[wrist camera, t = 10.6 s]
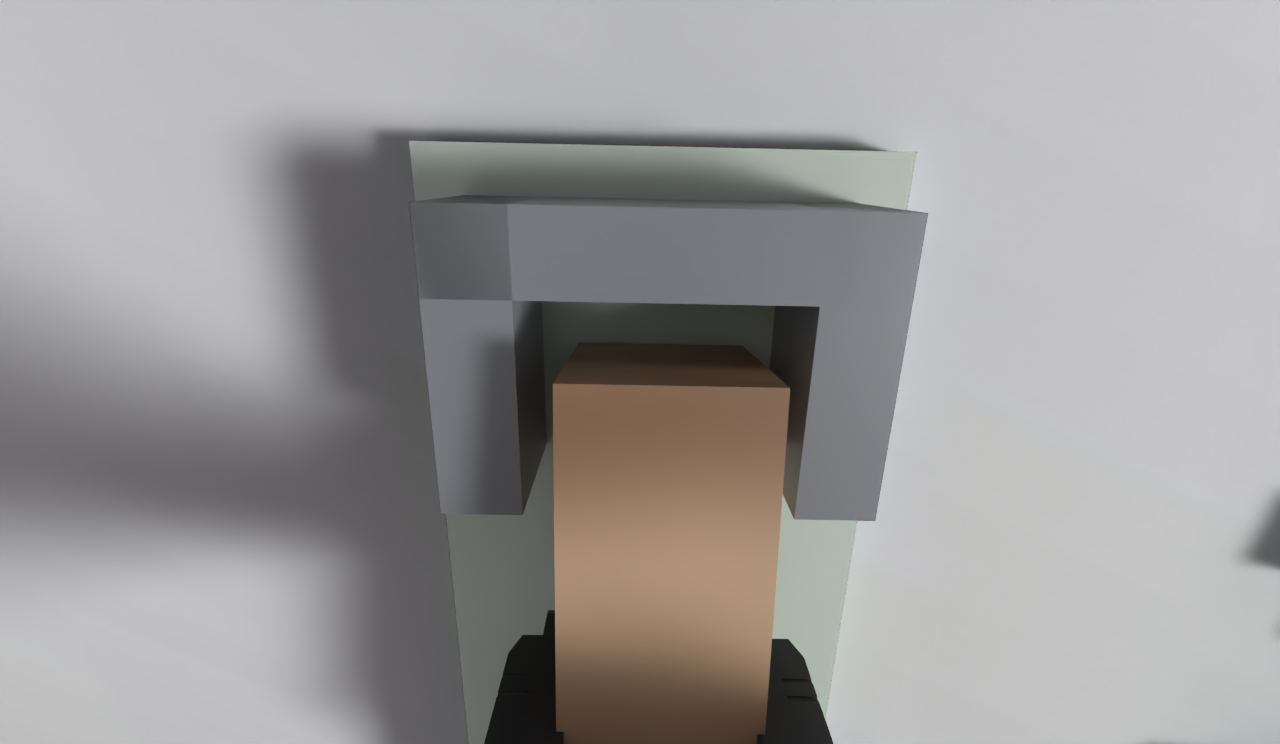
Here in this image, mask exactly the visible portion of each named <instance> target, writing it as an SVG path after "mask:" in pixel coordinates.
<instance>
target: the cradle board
mask: <svg viewBox="0 0 1280 744" xmlns="http://www.w3.org/2000/svg"><path fill="white" fill-rule="evenodd" d="M409 147H410V157H411V167H412V178H413V188H414V198H415V201H423V200H430V199H438V198H445V197H453V196H460V195H486V196H533V197H580V198H627V199H674V200H722V201H769V202H816V203H860V204H867V205H874V206H881V207H888V208H895V209H902V210H907V208H908V202H909V196H910V190H911V184H912V177H913V171H914V165H915V159H916V153H917V152H897V151H852V150H806V149H761V148H716V147H671V146H625V145H580V144H535V143H489V142H444V141H409ZM774 315H775V306H764V305H713V304H661V303H610V302H559V301H542V319H543V349H544V378H545V408H546V438H547V444H546V447H545V450H544V453H543V456H542V459H541V462H540V465H539V468H538V471H537V474H536V477H535V480H534V483H533V486H532V489H531V492H530V495H529V498H528V501H527V504H526V507H525V510H524V513H523V515H477V514H446V522H447V532H448V542H449V553H450V563H451V573H452V583H453V593H454V603H455V613H456V623H457V634H458V644H459V654H460V664H461V674H462V684H463V694H464V705H465V715H466V725H467V735H468V744H484V742H485V738H486V734H487V731H488V727H489V723H490V719H491V716H492V712H493V708H494V704H495V701H496V697H497V696H498V690H499V686H500V682H501V678H502V677H503V671H504V667H505V664H506V660H507V656H508V653H509V651H510V650H511V649H512V648H513V646H514V645H515V644H516V643H517V641H518V640H519V639H520V638H521V636H522V635H543V632H544V627H545V622H546V617H547V613H548V610H555V568H554V468H553V382H554V381H555V379H556V378H557V376H558V374H559V373H560V371H561V370H562V368H563V367H564V365H565V364H566V362H567V360H568V359H569V357H570V356H571V354H572V353H573V351H574V349H575V348H576V346H577V345H578V343H631V344H683V345H736V346H744V347H745V348H746V349H747V350H748V351H749V352H750V353H751V354H753V355H754V356H755V357H756V358H757V359H758V360H759V361H761V362H762V363H763V364H764V365H765V366H766V367H767V368H768V369H769V367H770V357H771V346H772V336H773V325H774ZM856 525H857V521H853V520H794V518H793V516H792V514H791V511H790V509H789V507H788V505H787V502H786V500H785V498H784V496H782V509H781V523H780V537H779V551H778V564H777V578H776V592H775V605H774V619H773V633H772V639H789V640H790V641H791V643H792V644H793V645H794V646H795V647H796V649H797V650H798V651H799V652H800V653H801V655H802V656H803V657H804V659H805V662H806V665H807V668H808V671H809V674H810V677H811V682H812V683H813V685H814V688H815V691H816V694H817V700H818V701H819V703H820V706H821V709H822V712H823V715H824V718H826V712H827V705H828V699H829V693H830V687H831V681H832V674H833V668H834V662H835V656H836V650H837V643H838V637H839V631H840V625H841V618H842V612H843V606H844V600H845V594H846V587H847V581H848V575H849V569H850V563H851V556H852V550H853V544H854V538H855V531H856Z"/></svg>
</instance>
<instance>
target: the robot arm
mask: <svg viewBox="0 0 1280 744" xmlns="http://www.w3.org/2000/svg"><path fill="white" fill-rule="evenodd" d="M484 744H564V732H556V668H555V610H548V613H547V617H546V622H545V627H544V632H543V635H522V636H521V638H520V639H519V640H518V641H517V643H516V644H515V645H514V646H513V648H512V649H511V650H510V651H509V653H508V656H507V660H506V664H505V667H504V671H503V677H502V678H501V682H500V686H499V690H498V696H497V697H496V701H495V704H494V708H493V712H492V716H491V719H490V723H489V727H488V731H487V734H486V738H485V742H484ZM757 744H833V741H832V738H831V735H830V732H829V730H828V727H827V724H826V721H825V718H824V715H823V712H822V709H821V706H820V703H819V701H818V700H817V694H816V691H815V688H814V685H813V683H812V682H811V677H810V674H809V671H808V668H807V665H806V662H805V659H804V657H803V656H802V655H801V653H800V652H799V651H798V650H797V649H796V647H795V646H794V645H793V644H792V643H791V641H790V640H789V639H772V647H771V660H770V674H769V688H768V702H767V715H766V729H765V734H757Z"/></svg>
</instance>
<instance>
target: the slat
mask: <svg viewBox="0 0 1280 744" xmlns="http://www.w3.org/2000/svg"><path fill="white" fill-rule="evenodd" d="M789 400H790V387H789V386H788V385H786V384H785V383H784V382H783V381H782V380H781V379H780V378H779V377H777V376H776V375H775V374H774V373H773V372H772V371H771V370H770V369H768V368H767V367H766V366H765V365H764V364H763V363H762V362H761V361H759V360H758V359H757V358H756V357H755V356H754V355H753V354H751V353H750V352H749V351H748V350H747V349H746V348H745V347H744V346H736V345H683V344H631V343H578V345H577V346H576V348H575V349H574V351H573V353H572V354H571V356H570V357H569V359H568V360H567V362H566V364H565V365H564V367H563V368H562V370H561V371H560V373H559V374H558V376H557V378H556V379H555V381H554V382H553V468H554V568H555V668H556V732H564V744H757V734H765V729H766V715H767V702H768V688H769V674H770V660H771V647H772V633H773V619H774V605H775V592H776V578H777V564H778V551H779V537H780V523H781V509H782V496H783V482H784V468H785V455H786V441H787V427H788V413H789Z"/></svg>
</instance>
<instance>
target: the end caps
mask: <svg viewBox="0 0 1280 744" xmlns="http://www.w3.org/2000/svg"><path fill="white" fill-rule="evenodd" d="M409 206H410V216H411V226H412V236H413V246H414V255H415V265H416V275H417V285H418V295H419V305H420V314H421V324H422V334H423V344H424V354H425V363H426V373H427V383H428V393H429V403H430V413H431V422H432V432H433V442H434V452H435V462H436V472H437V481H438V491H439V501H440V511H441V514H477V515H523V513H524V510H525V507H526V504H527V501H528V498H529V495H530V492H531V489H532V486H533V483H534V480H535V477H536V474H537V471H538V468H539V465H540V462H541V459H542V456H543V453H544V450H545V447H546V444H547V438H546V408H545V378H544V349H543V319H542V301H559V302H610V303H661V304H713V305H764V306H775V315H774V325H773V336H772V346H771V357H770V367H769V369H770V370H771V371H772V372H773V373H774V374H775V375H776V376H777V377H779V378H780V379H781V380H782V381H783V382H784V383H785V384H786V385H788V386H789V387H790V400H789V413H788V427H787V441H786V455H785V468H784V482H783V496H784V498H785V500H786V502H787V505H788V507H789V509H790V511H791V514H792V516H793V518H794V520H853V521H875V519H876V513H877V507H878V501H879V495H880V490H881V484H882V478H883V472H884V466H885V461H886V455H887V449H888V443H889V437H890V432H891V426H892V420H893V414H894V408H895V403H896V397H897V391H898V385H899V379H900V374H901V368H902V362H903V356H904V350H905V345H906V339H907V333H908V327H909V321H910V316H911V310H912V304H913V298H914V292H915V287H916V281H917V275H918V269H919V263H920V257H921V252H922V246H923V240H924V234H925V228H926V223H927V217H928V213H923V212H916V211H909V210H902V209H895V208H888V207H881V206H874V205H867V204H860V203H816V202H769V201H722V200H674V199H627V198H580V197H533V196H486V195H460V196H453V197H445V198H438V199H430V200H423V201H415V202H409Z"/></svg>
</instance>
